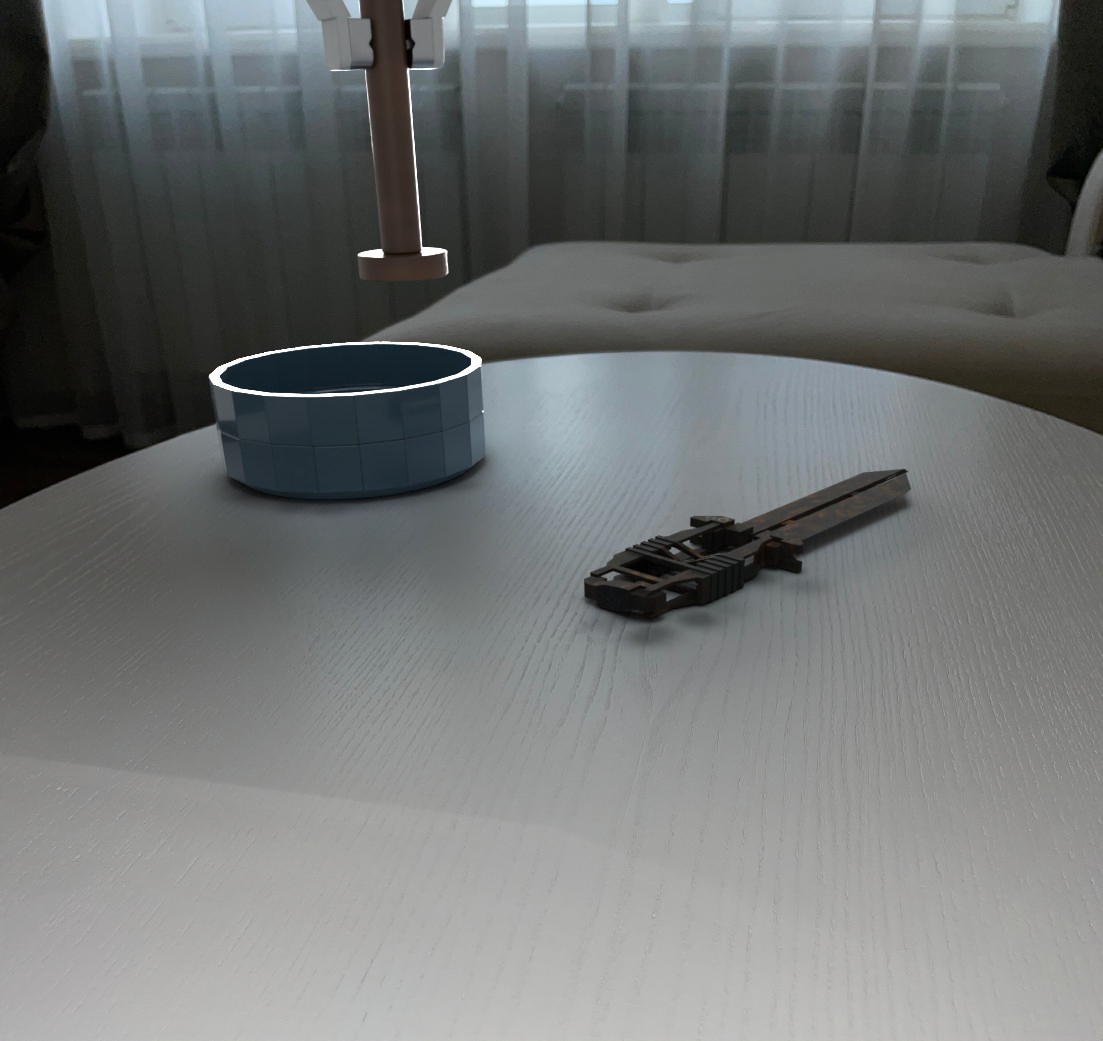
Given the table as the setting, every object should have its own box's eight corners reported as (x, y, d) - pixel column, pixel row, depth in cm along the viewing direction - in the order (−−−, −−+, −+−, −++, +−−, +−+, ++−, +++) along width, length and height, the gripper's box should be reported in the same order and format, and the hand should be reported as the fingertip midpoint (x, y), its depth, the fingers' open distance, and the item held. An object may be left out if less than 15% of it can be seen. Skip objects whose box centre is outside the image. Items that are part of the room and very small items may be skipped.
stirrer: (345, 281, 51) (296, -173, 43) (381, 270, 54) (341, -154, 47) (429, 282, 50) (394, -183, 42) (460, 270, 53) (433, -163, 46)
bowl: (174, 495, 68) (155, 391, 65) (299, 427, 81) (288, 339, 78) (432, 511, 64) (423, 401, 61) (518, 437, 77) (514, 344, 74)
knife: (883, 478, 67) (886, 454, 66) (983, 502, 63) (987, 476, 62) (553, 589, 53) (552, 560, 52) (652, 629, 49) (652, 598, 48)
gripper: (556, -313, 48) (563, 68, 55) (41, -384, 40) (124, 76, 46) (638, -362, 43) (635, 62, 50) (71, -456, 35) (159, 70, 42)
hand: (385, 69), depth 48 cm, fingers closed on stirrer, 2 cm apart
